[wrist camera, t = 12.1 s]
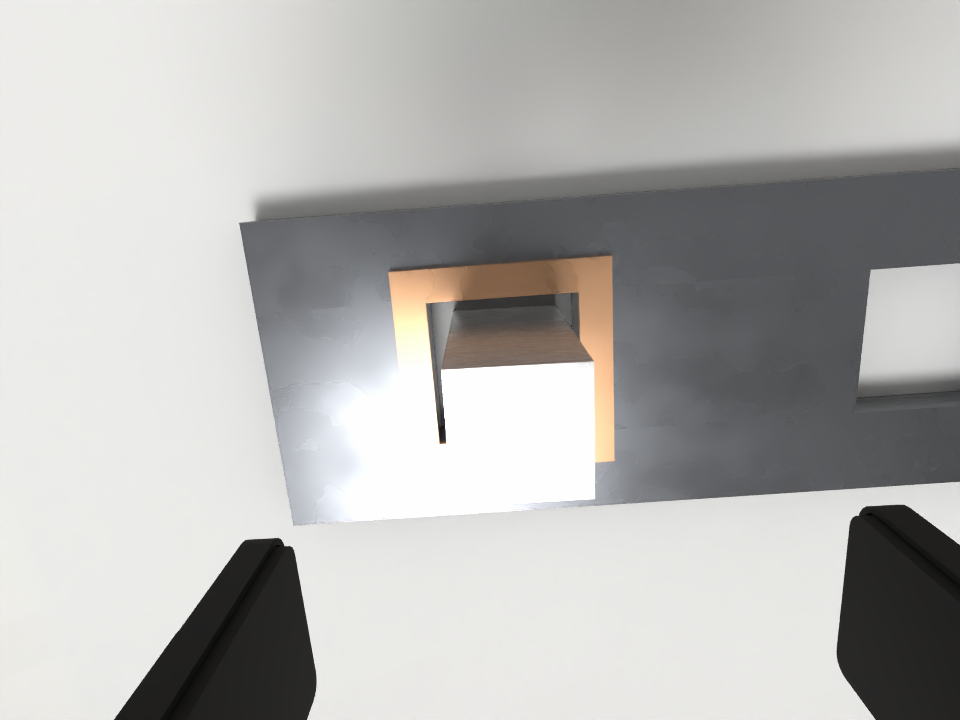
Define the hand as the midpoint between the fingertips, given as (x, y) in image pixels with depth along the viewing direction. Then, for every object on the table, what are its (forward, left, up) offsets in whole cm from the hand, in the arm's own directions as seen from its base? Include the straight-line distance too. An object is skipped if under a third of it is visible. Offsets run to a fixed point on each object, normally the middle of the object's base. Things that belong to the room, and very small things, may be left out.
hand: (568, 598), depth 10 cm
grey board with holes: (-8, 0, -14) cm, 16 cm away
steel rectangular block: (0, 0, -14) cm, 14 cm away
